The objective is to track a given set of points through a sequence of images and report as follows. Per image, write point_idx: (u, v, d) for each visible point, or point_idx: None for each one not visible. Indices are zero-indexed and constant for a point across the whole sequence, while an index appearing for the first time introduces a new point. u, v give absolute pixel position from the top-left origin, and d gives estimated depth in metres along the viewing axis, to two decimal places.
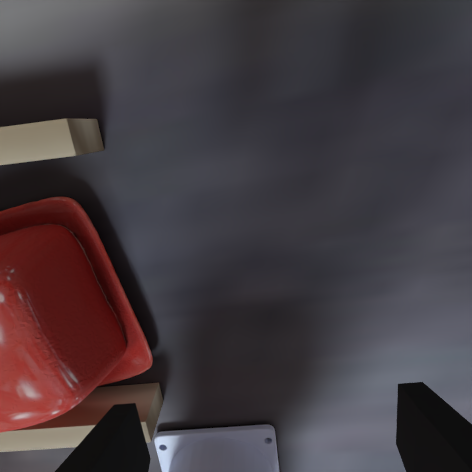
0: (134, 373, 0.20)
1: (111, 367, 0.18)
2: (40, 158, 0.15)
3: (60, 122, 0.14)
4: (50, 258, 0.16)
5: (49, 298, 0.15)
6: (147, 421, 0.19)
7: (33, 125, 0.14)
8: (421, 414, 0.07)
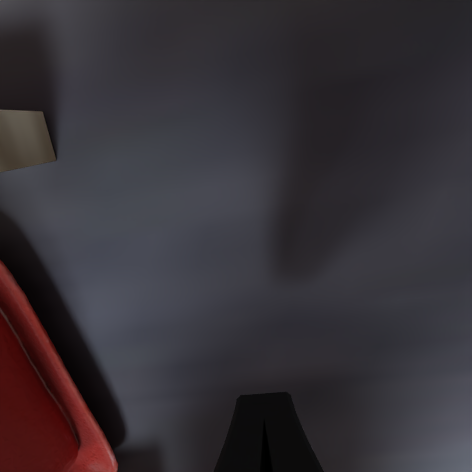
0: None
1: None
2: None
3: None
4: None
5: None
6: None
7: None
8: (265, 424, 0.08)
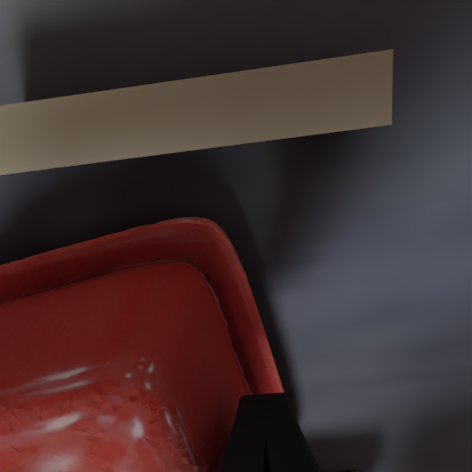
0: None
1: None
2: (321, 130, 0.08)
3: (378, 57, 0.07)
4: (193, 329, 0.09)
5: (202, 407, 0.08)
6: None
7: (323, 63, 0.07)
8: (262, 424, 0.08)
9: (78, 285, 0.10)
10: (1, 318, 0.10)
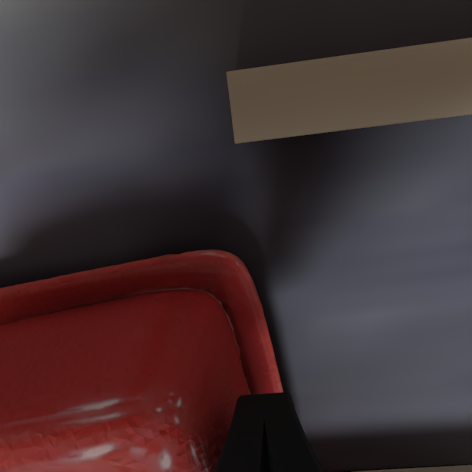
0: None
1: None
2: None
3: None
4: (214, 360, 0.09)
5: (221, 437, 0.09)
6: None
7: None
8: (265, 424, 0.08)
9: (102, 308, 0.11)
10: (27, 337, 0.10)
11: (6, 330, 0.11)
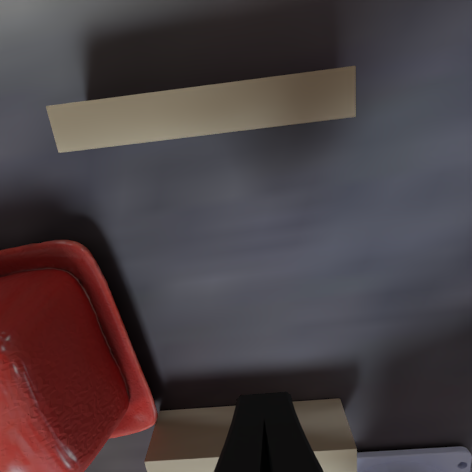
0: (136, 430, 0.18)
1: (112, 431, 0.16)
2: (307, 120, 0.11)
3: (345, 71, 0.11)
4: (52, 316, 0.14)
5: (49, 366, 0.13)
6: (355, 447, 0.16)
7: (309, 74, 0.11)
8: (265, 424, 0.08)
9: None
10: None
11: None
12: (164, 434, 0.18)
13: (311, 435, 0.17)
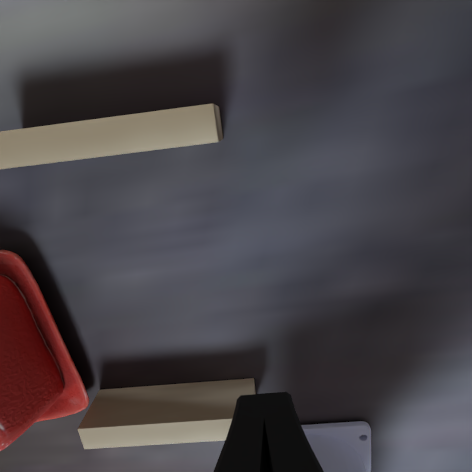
0: (71, 412, 0.21)
1: (44, 410, 0.19)
2: (181, 144, 0.14)
3: (206, 107, 0.14)
4: None
5: None
6: None
7: (178, 110, 0.14)
8: (265, 424, 0.08)
9: None
10: None
11: None
12: (99, 408, 0.21)
13: (220, 407, 0.19)
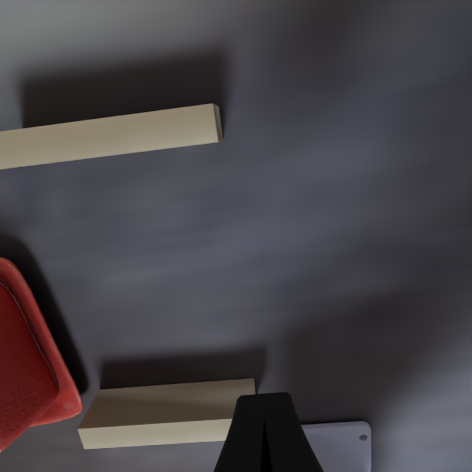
0: (65, 417, 0.22)
1: (38, 415, 0.19)
2: (181, 144, 0.14)
3: (206, 107, 0.14)
4: None
5: None
6: None
7: (178, 110, 0.14)
8: (265, 424, 0.08)
9: None
10: None
11: None
12: (99, 408, 0.21)
13: (220, 407, 0.19)
